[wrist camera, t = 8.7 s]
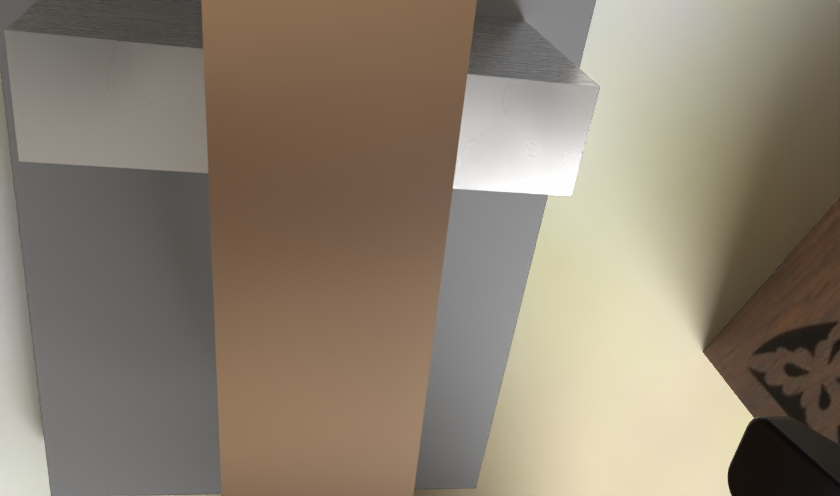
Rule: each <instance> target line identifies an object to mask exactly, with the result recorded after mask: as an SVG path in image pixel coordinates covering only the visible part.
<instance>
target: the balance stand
mask: <svg viewBox="0 0 840 496" xmlns="http://www.w3.org/2000/svg"><path fill="white" fill-rule="evenodd" d="M595 3H596V0H477V4H476V12H475V20H474V27H473V35H472V43H471V51H470V58H469V66H468V74H467V82H466V90H465V97H464V105H463V113H462V121H461V128H460V136H459V144H458V152H457V160H456V167H455V175H454V183H453V191H452V199H451V206H450V214H449V222H448V230H447V237H446V245H445V253H444V261H443V269H442V276H441V284H440V292H439V300H438V308H437V315H436V323H435V331H434V339H433V346H432V354H431V362H430V370H429V378H428V385H427V393H426V401H425V409H424V416H423V424H422V432H421V440H420V448H419V455H418V463H417V471H416V479H415V487H414V490H416V489H461V488H476V484H477V480H478V476H479V472H480V468H481V464H482V460H483V456H484V452H485V448H486V444H487V440H488V436H489V432H490V428H491V424H492V419H493V415H494V411H495V407H496V403H497V399H498V395H499V391H500V387H501V383H502V379H503V375H504V371H505V367H506V363H507V359H508V355H509V351H510V347H511V343H512V339H513V334H514V330H515V326H516V322H517V318H518V314H519V310H520V306H521V302H522V298H523V294H524V290H525V286H526V282H527V278H528V274H529V270H530V266H531V262H532V258H533V254H534V249H535V245H536V241H537V237H538V233H539V229H540V225H541V221H542V217H543V213H544V209H545V205H546V201H547V197H548V195H562V196H572V192H573V188H574V184H575V181H576V177H577V173H578V169H579V165H580V162H581V158H582V154H583V150H584V146H585V143H586V139H587V135H588V131H589V127H590V124H591V120H592V116H593V112H594V108H595V105H596V101H597V97H598V93H599V89H600V86H599V85H597V84H596V83H595V82H594V81H593V80H592V79H591V78H590V77H588V76H587V75H586V74H585V73H584V72H583V71H582V70H580V69H579V67H580V63H581V59H582V55H583V51H584V47H585V43H586V39H587V35H588V31H589V27H590V23H591V19H592V15H593V11H594V7H595ZM0 68H1V77H2V85H3V94H4V102H5V111H6V119H7V128H8V136H9V144H10V153H11V161H12V170H13V178H14V187H15V195H16V204H17V212H18V221H19V229H20V238H21V246H22V254H23V263H24V271H25V280H26V288H27V297H28V305H29V314H30V322H31V331H32V339H33V348H34V356H35V364H36V373H37V381H38V390H39V398H40V407H41V415H42V424H43V432H44V441H45V449H46V458H47V466H48V474H49V483H50V491H51V496H145V495H190V494H222V492H221V468H220V443H219V419H218V395H217V370H216V346H215V322H214V297H213V273H212V248H211V224H210V200H209V175H208V151H207V126H206V102H205V78H204V53H203V29H202V4H201V0H0Z"/></svg>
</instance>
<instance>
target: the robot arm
mask: <svg viewBox="0 0 840 496" xmlns="http://www.w3.org/2000/svg"><path fill="white" fill-rule="evenodd" d="M728 485H729V489H730V493H731V495H732V496H840V445H838V444H837V443H835V442H833V441H832V440H830V439H828V438H827V437H825V436H823V435H822V434H820V433H818V432H817V431H815V430H813V429H812V428H810V427H808V426H806V425H805V424H803V423H801V422H800V421H798V420H796V419H794V418H792V417H789V416H758V417H755V418H754V419H753V420H752V421H750V422H749V424H748V426H747V428H746V430H745V432H744V435H743V437H742V439H741V441H740V443H739V446H738V448H737V450H736V452H735V455H734V457H733V459H732V461H731V463H730V466H729V470H728Z"/></svg>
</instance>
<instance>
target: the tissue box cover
mask: <svg viewBox="0 0 840 496" xmlns="http://www.w3.org/2000/svg"><path fill="white" fill-rule="evenodd" d="M703 353H704V354H705V355H706V357H707V358H708V359H709V360H710V362H711V363H712V364H713V366H714V367H715V368H716V369H717V371H718V372H719V373H720V375H721V376H722V377H723V378H724V380H725V381H726V382H727V384H728V385H729V386H730V387H731V389H732V390H733V391H734V393H735V394H736V395H737V396H738V398H739V399H740V400H741V402H742V403H743V404H744V405H745V407H746V408H747V409H748V411H749V412H750V413H751V414H752V416H753V417H754V418H755V417H758V416H789V417H792V418H794V419H796V420H798V421H800V422H801V423H803V424H805V425H806V426H808V427H810V428H812V429H813V430H815V431H817V432H818V433H820V434H822V435H823V436H825V437H827V438H828V439H830V440H832V441H833V442H835V443H837V444H838V445H840V199H839V200H838V201H837V202H836V203H835V204H834V205H833V207H832V208H831V209H830V210H829V211H828V212H827V213H826V214H825V215H824V217H823V218H822V219H821V220H820V221H819V222H818V223H817V224H816V226H815V227H814V228H813V229H812V230H811V231H810V232H809V233H808V235H807V236H806V237H805V238H804V239H803V240H802V241H801V242H800V244H799V245H798V246H797V247H796V248H795V249H794V250H793V251H792V253H791V254H790V255H789V256H788V257H787V258H786V259H785V260H784V262H783V263H782V264H781V265H780V266H779V267H778V268H777V269H776V271H775V272H774V273H773V274H772V275H771V276H770V277H769V278H768V280H767V281H766V282H765V283H764V284H763V285H762V286H761V287H760V289H759V290H758V291H757V292H756V293H755V294H754V295H753V296H752V298H751V299H750V300H749V301H748V302H747V303H746V304H745V305H744V307H743V308H742V309H741V310H740V311H739V312H738V313H737V314H736V315H735V317H734V318H733V319H732V320H731V321H730V322H729V323H728V324H727V326H726V327H725V328H724V329H723V330H722V331H721V332H720V333H719V335H718V336H717V337H716V338H715V339H714V340H713V341H712V342H711V344H710V345H709V346H708V347H707V348H706V349H705V350H704V351H703Z"/></svg>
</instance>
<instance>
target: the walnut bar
mask: <svg viewBox="0 0 840 496" xmlns="http://www.w3.org/2000/svg"><path fill="white" fill-rule="evenodd" d="M201 4H202V29H203V53H204V78H205V102H206V126H207V151H208V175H209V200H210V224H211V248H212V273H213V297H214V322H215V346H216V370H217V395H218V419H219V443H220V468H221V492H222V496H413V494H414V487H415V479H416V471H417V463H418V455H419V448H420V440H421V432H422V424H423V416H424V409H425V401H426V393H427V385H428V378H429V370H430V362H431V354H432V346H433V339H434V331H435V323H436V315H437V308H438V300H439V292H440V284H441V276H442V269H443V261H444V253H445V245H446V237H447V230H448V222H449V214H450V206H451V199H452V191H453V183H454V175H455V167H456V160H457V152H458V144H459V136H460V128H461V121H462V113H463V105H464V97H465V90H466V82H467V74H468V66H469V58H470V51H471V43H472V35H473V27H474V20H475V12H476V4H477V0H201Z"/></svg>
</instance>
